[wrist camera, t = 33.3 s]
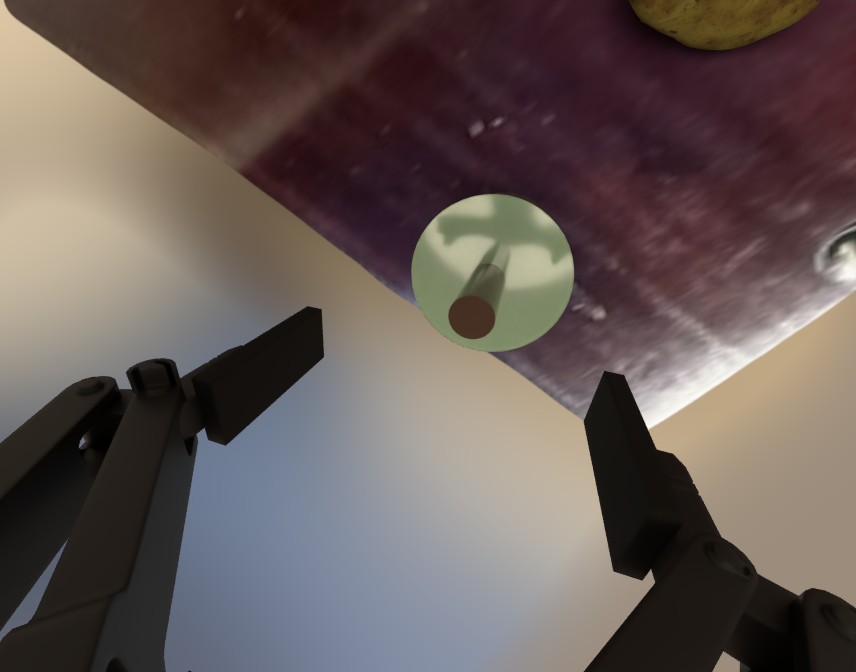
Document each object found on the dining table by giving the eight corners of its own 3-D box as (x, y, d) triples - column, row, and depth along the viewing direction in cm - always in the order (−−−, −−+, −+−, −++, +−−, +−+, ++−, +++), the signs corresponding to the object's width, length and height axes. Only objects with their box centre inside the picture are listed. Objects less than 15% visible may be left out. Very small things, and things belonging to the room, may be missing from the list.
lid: (454, 162, 27) (417, 158, 18) (609, 242, 26) (645, 275, 18) (394, 304, 34) (348, 348, 25) (517, 370, 33) (511, 438, 24)
